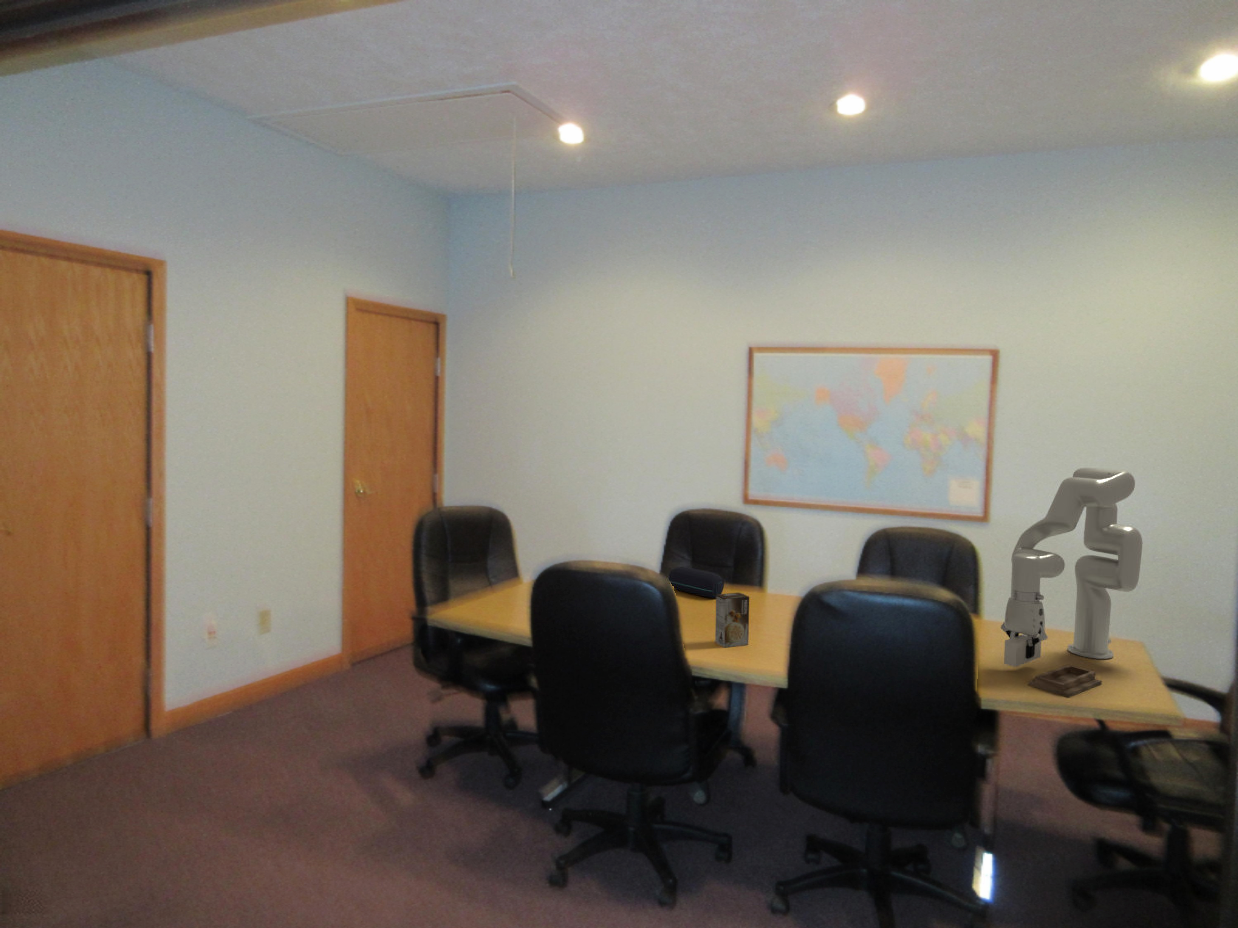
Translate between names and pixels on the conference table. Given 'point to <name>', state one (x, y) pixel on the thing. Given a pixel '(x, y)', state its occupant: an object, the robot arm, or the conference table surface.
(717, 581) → the portable speaker
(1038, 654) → the light grey block
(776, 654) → the conference table surface
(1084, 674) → the rack
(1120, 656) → the conference table surface
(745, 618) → the coffee box
